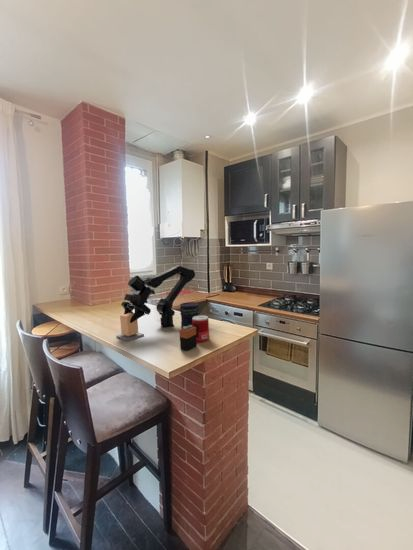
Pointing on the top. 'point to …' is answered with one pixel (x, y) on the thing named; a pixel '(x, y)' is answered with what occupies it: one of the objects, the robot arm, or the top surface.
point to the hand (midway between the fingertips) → (126, 321)
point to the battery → (188, 337)
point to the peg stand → (130, 336)
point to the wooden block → (128, 324)
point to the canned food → (201, 327)
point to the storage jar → (188, 313)
